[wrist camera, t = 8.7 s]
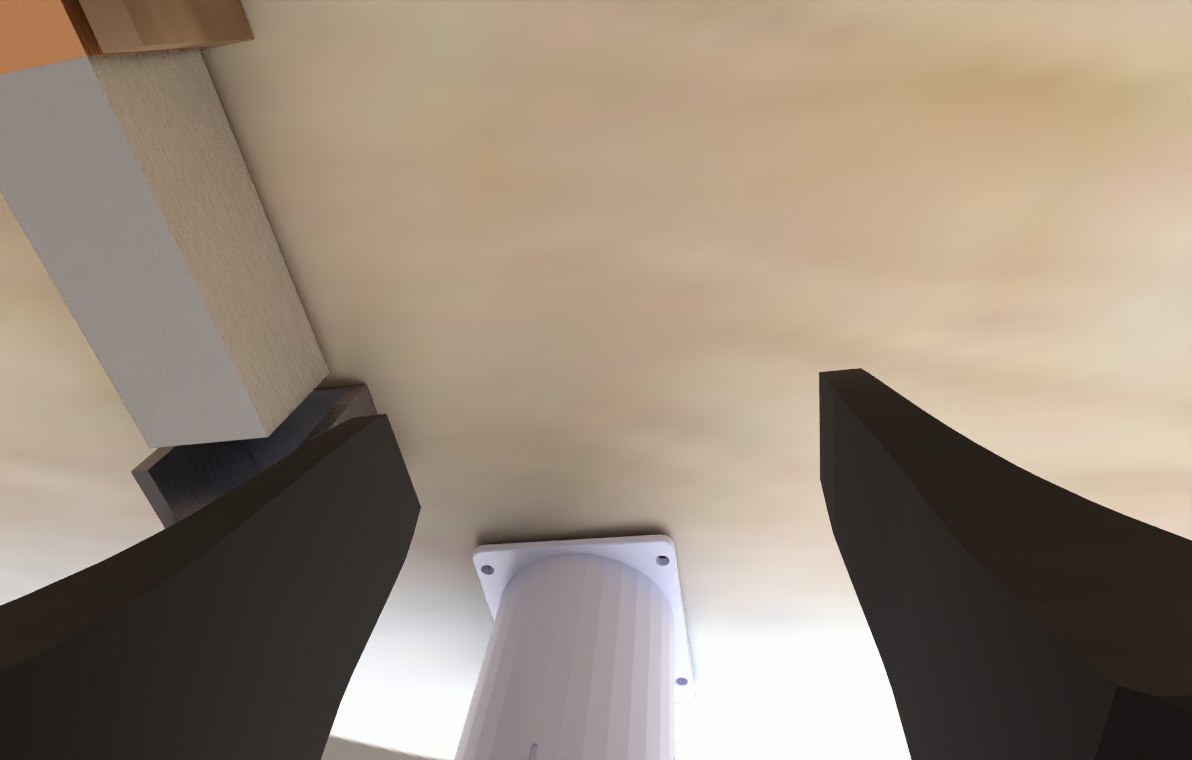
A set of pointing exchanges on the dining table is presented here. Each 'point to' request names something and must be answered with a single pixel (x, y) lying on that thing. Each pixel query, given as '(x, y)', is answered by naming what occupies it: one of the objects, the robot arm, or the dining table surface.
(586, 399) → the dining table surface
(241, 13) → the socket
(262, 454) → the sleeve
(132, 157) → the tube
